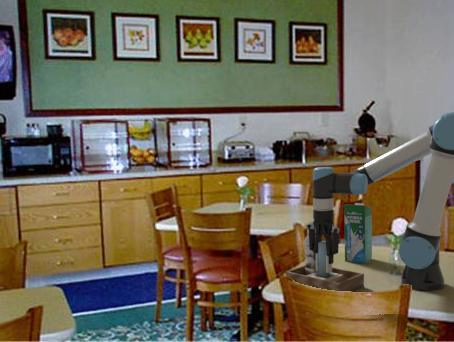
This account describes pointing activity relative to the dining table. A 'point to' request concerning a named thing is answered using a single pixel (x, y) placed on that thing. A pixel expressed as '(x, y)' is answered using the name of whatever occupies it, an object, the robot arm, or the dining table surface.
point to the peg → (322, 259)
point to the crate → (329, 279)
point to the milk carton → (358, 233)
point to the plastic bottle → (309, 257)
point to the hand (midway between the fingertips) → (323, 270)
